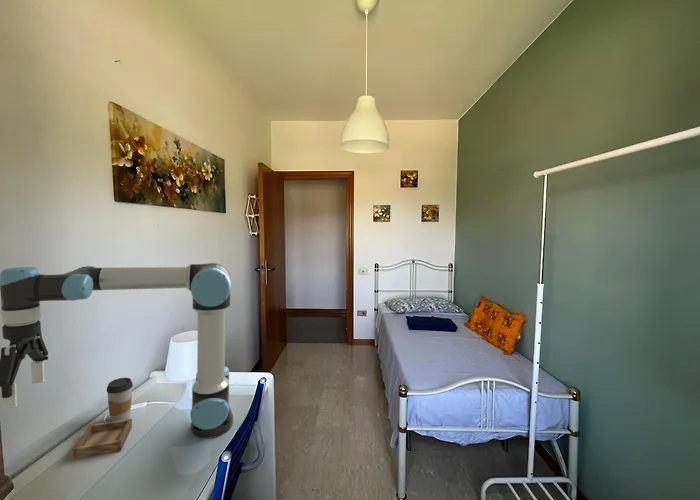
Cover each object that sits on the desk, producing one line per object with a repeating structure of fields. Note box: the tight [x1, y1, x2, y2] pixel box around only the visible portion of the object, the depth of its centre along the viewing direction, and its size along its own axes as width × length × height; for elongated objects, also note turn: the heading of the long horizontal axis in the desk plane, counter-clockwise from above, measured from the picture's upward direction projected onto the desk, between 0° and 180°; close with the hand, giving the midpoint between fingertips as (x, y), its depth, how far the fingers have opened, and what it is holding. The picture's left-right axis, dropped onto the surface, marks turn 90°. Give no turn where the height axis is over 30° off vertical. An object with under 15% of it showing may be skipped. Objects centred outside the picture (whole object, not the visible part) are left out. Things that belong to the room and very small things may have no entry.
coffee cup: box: [106, 377, 134, 422], centre depth 124 cm, size 8×8×15 cm
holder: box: [72, 418, 133, 460], centre depth 112 cm, size 13×13×4 cm
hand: (25, 394), depth 91 cm, fingers open, 13 cm apart
